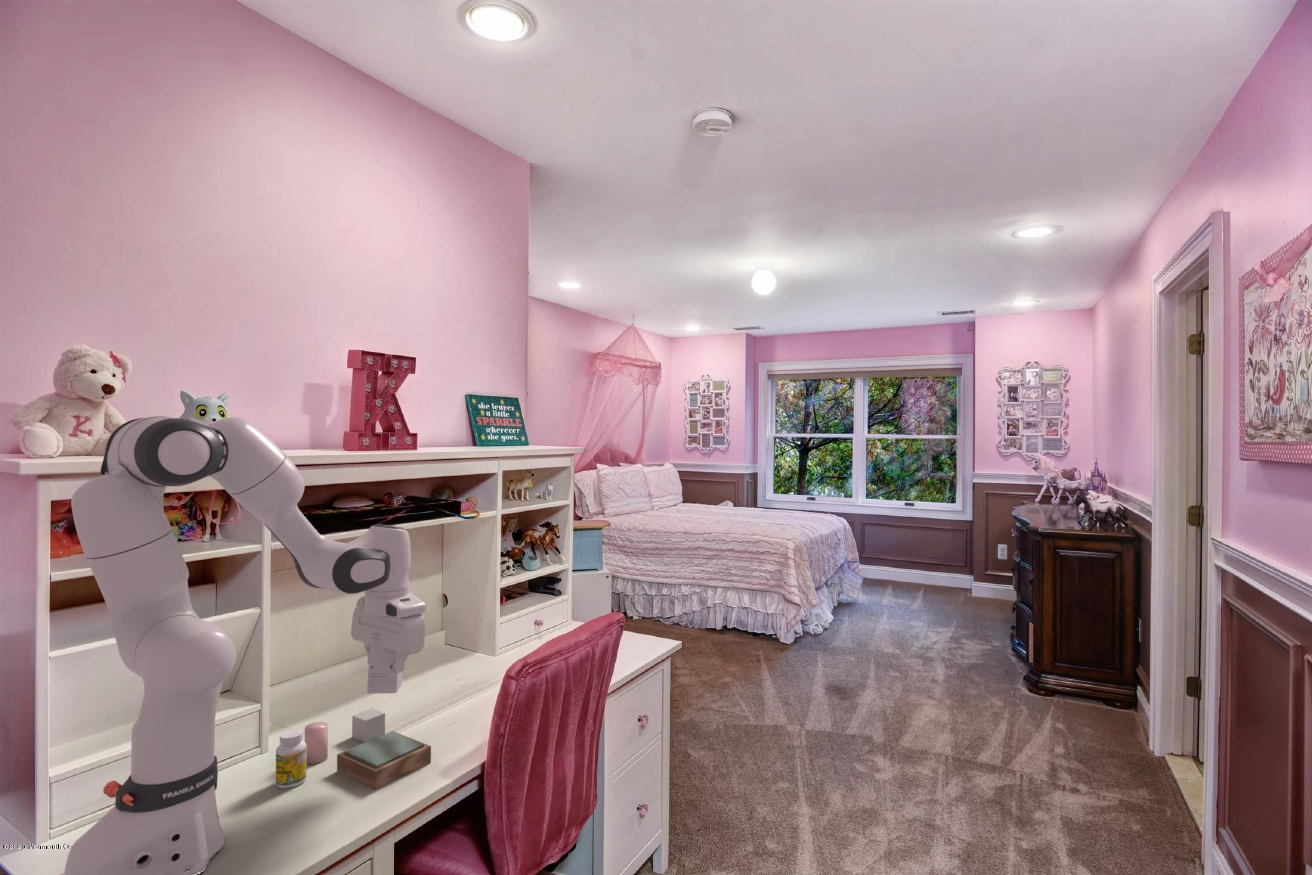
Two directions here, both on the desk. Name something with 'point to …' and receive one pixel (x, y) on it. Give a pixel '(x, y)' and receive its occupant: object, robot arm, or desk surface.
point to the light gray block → (368, 725)
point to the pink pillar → (316, 742)
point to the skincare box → (382, 668)
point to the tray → (383, 759)
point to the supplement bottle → (291, 760)
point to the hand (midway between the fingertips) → (385, 667)
